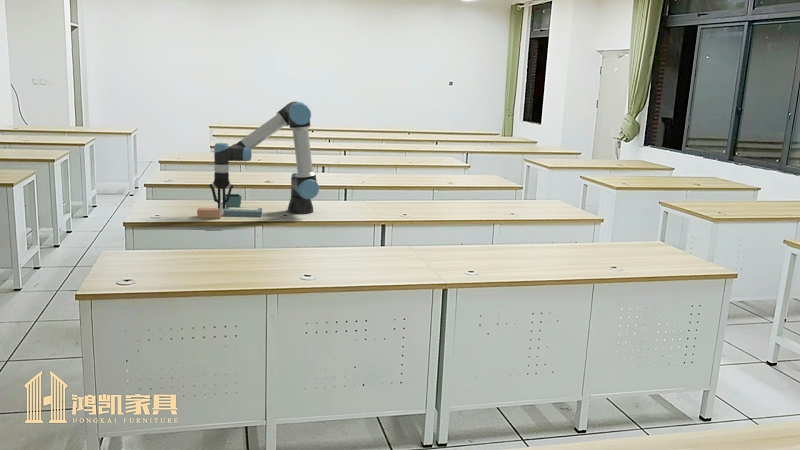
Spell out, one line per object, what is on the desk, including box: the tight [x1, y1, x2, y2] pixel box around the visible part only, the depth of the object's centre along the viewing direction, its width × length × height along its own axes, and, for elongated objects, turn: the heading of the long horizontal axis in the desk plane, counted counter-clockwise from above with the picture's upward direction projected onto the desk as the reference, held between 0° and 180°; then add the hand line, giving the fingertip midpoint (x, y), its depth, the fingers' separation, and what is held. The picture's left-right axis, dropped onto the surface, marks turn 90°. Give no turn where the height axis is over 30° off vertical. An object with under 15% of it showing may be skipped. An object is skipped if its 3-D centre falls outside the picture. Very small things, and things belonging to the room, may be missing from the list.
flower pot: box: [225, 193, 243, 207], centre depth 390 cm, size 9×9×9 cm
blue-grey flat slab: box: [221, 206, 263, 218], centre depth 381 cm, size 24×11×3 cm, turn 98°
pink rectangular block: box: [196, 207, 222, 219], centre depth 370 cm, size 12×6×5 cm, turn 98°
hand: (221, 214), depth 369 cm, fingers closed
